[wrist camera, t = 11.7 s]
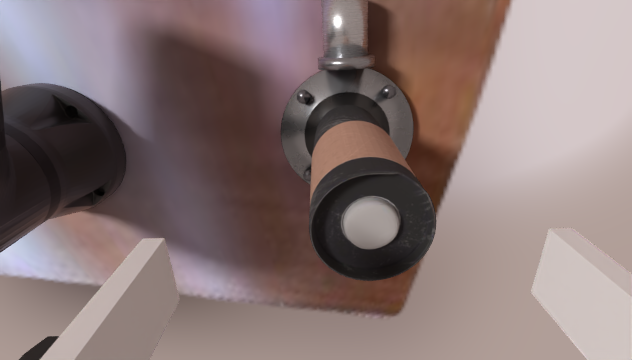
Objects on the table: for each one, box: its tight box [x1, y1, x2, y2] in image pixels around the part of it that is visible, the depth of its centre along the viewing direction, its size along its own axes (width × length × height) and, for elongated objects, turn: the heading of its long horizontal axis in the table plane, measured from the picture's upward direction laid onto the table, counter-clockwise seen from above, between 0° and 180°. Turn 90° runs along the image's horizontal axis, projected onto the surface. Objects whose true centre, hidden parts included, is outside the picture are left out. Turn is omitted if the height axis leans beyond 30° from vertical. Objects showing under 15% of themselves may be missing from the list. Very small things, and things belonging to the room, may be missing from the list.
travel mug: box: [309, 105, 436, 281], centre depth 29 cm, size 8×8×20 cm
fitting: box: [281, 0, 413, 185], centre depth 35 cm, size 15×22×6 cm
